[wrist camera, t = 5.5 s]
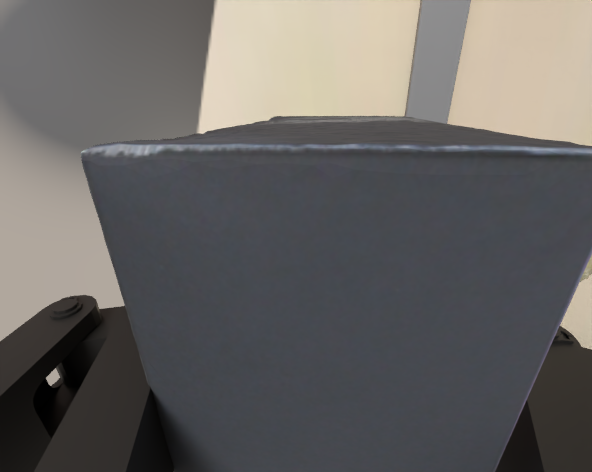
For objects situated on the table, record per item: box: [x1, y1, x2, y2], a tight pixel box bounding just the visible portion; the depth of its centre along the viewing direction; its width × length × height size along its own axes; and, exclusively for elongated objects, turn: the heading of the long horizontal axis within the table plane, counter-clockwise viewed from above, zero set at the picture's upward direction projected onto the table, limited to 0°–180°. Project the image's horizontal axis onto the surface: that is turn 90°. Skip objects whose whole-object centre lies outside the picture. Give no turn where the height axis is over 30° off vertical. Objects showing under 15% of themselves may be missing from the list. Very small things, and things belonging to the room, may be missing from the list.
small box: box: [81, 116, 592, 472], centre depth 10 cm, size 11×6×10 cm, turn 1°
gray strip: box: [405, 0, 471, 124], centre depth 23 cm, size 3×23×1 cm, turn 0°
